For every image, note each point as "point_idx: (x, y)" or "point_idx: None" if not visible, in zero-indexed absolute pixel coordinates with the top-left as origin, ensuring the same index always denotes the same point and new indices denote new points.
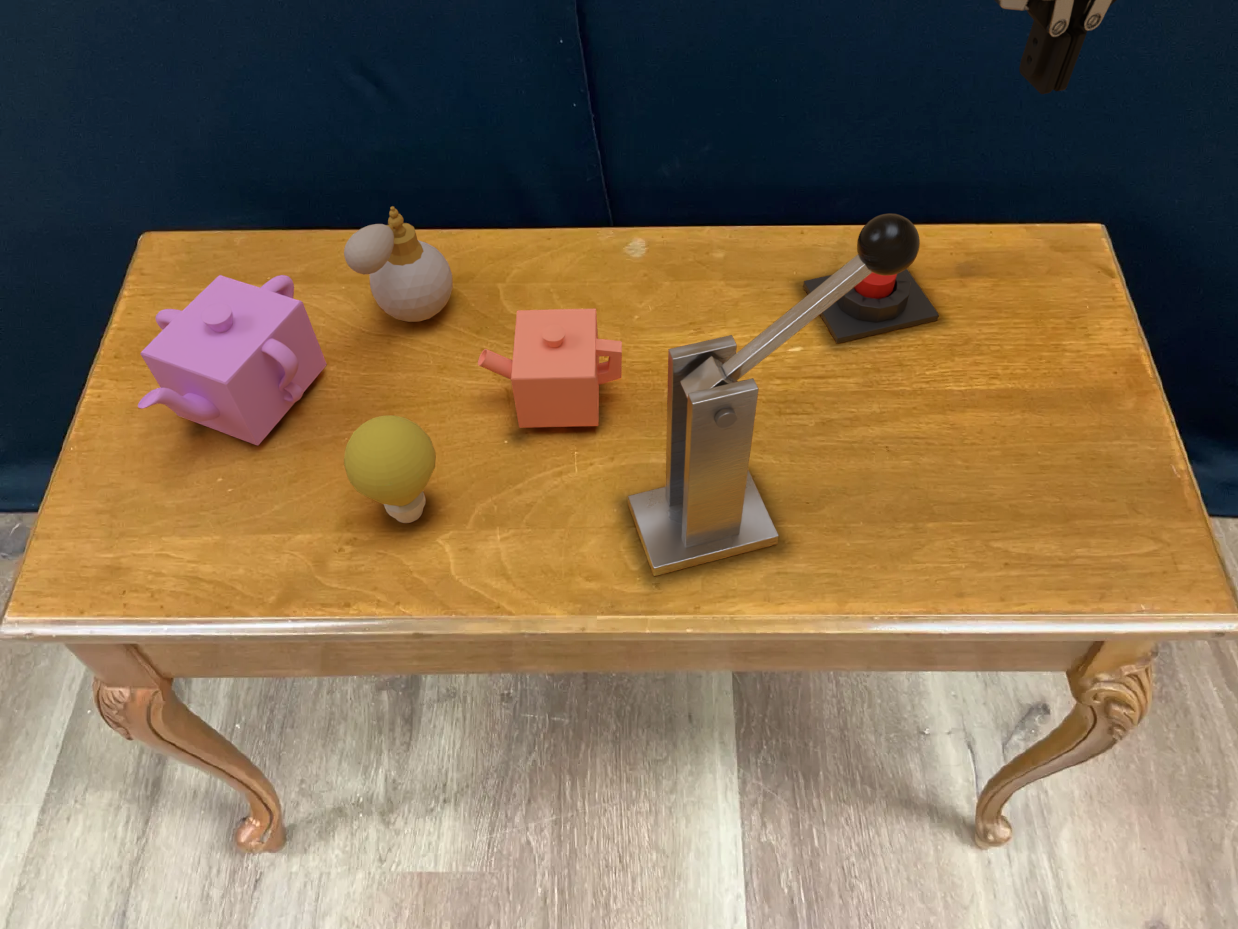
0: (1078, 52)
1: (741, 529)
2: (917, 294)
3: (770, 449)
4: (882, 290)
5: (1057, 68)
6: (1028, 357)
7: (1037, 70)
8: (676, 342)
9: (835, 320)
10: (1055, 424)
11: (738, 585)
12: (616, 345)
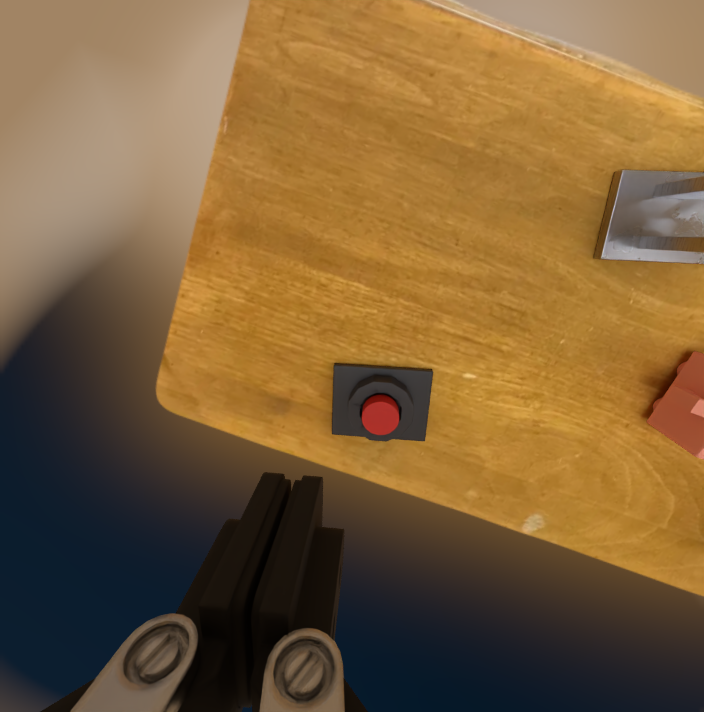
0: (231, 547)
1: (650, 189)
2: (339, 393)
3: (554, 278)
4: (383, 398)
5: (295, 521)
6: (281, 296)
7: (332, 537)
8: (561, 418)
9: (424, 390)
10: (299, 215)
11: (674, 139)
12: (699, 408)
